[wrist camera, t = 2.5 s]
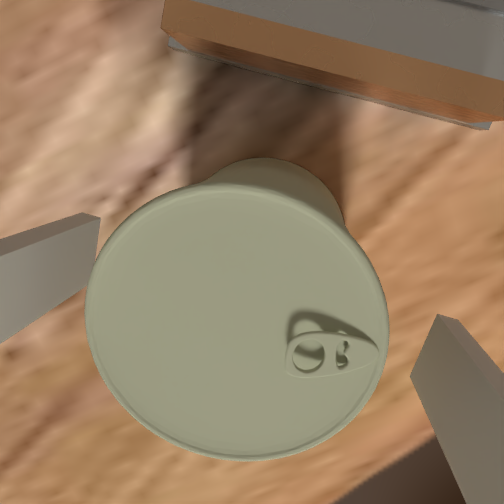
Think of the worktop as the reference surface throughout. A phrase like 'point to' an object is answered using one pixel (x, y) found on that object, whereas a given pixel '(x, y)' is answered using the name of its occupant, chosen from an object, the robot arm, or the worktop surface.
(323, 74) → the rail holder
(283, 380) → the can
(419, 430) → the worktop surface
